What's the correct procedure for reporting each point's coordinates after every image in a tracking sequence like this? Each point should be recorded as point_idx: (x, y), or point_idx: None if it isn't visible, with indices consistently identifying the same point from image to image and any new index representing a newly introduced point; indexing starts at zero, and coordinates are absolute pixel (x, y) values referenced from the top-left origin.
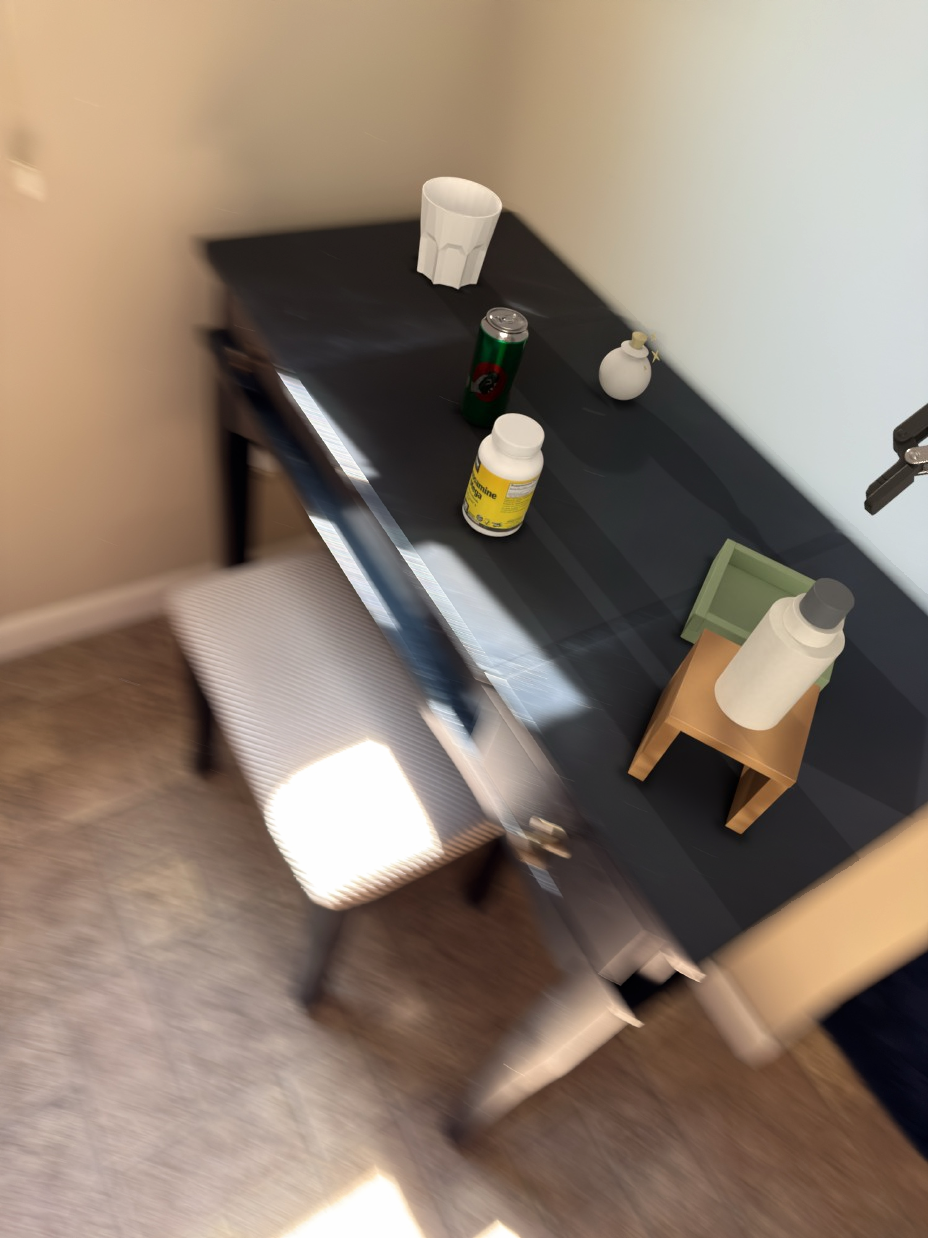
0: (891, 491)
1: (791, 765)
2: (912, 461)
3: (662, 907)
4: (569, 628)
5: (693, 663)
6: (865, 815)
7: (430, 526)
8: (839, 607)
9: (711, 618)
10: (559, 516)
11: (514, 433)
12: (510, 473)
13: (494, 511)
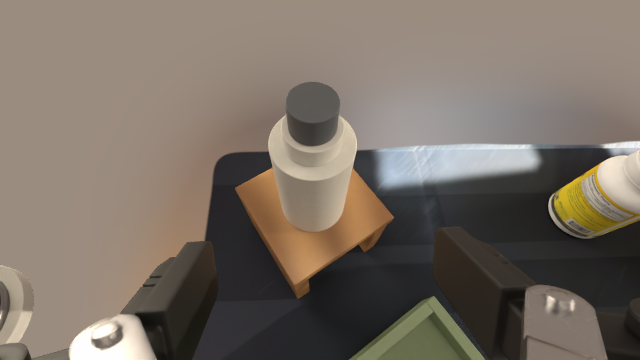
0: (459, 256)
1: (247, 194)
2: (534, 289)
3: (246, 153)
4: (447, 212)
5: (362, 182)
6: (206, 341)
7: (557, 167)
8: (292, 92)
9: (425, 309)
10: (579, 275)
11: None
12: (604, 166)
13: (568, 186)
